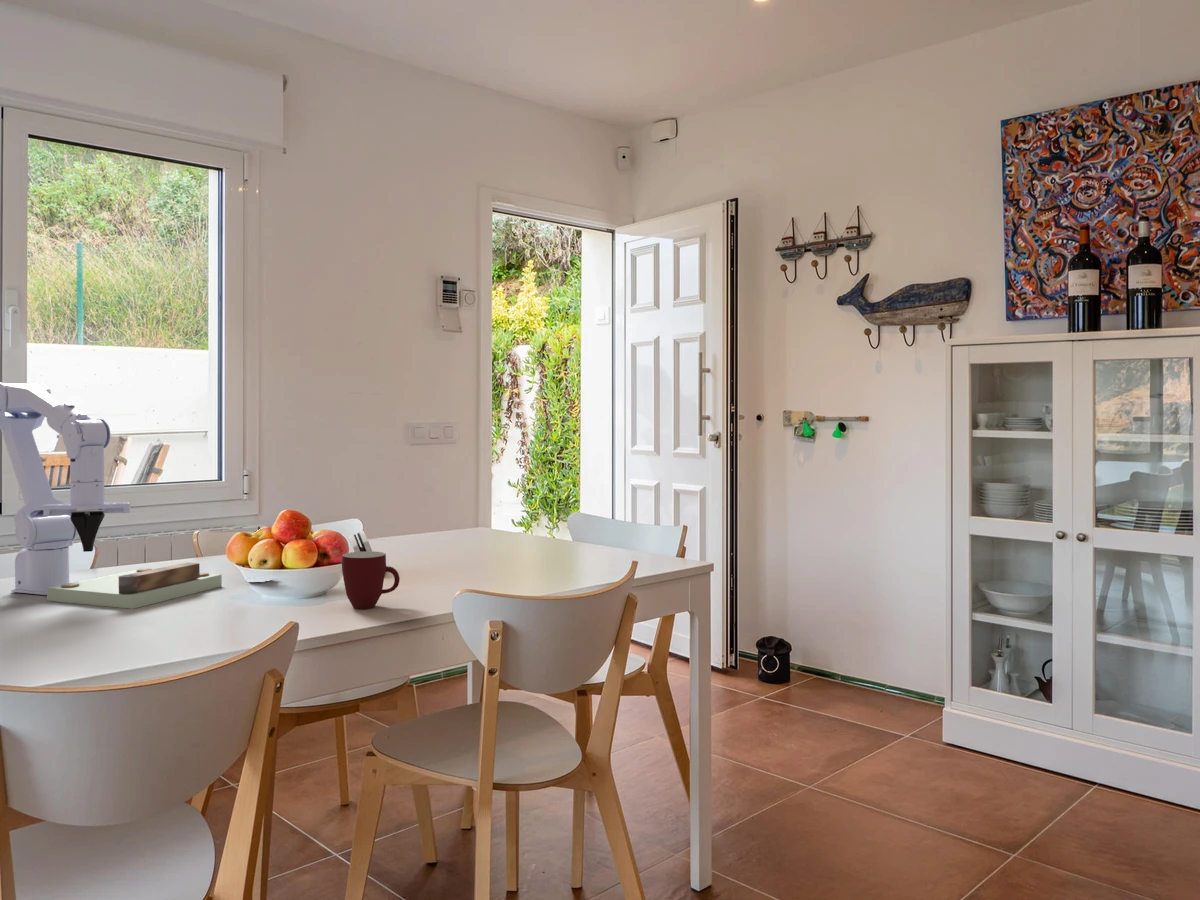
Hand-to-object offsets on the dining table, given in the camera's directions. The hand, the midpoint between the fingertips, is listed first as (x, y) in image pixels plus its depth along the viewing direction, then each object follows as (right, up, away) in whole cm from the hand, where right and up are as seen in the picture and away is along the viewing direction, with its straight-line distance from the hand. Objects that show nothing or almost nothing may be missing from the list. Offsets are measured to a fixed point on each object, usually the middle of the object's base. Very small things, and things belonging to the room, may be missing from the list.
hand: (88, 550), depth 171 cm
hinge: (+44, -9, +37) cm, 58 cm away
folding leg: (+13, -7, +1) cm, 15 cm away
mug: (+56, -10, -4) cm, 57 cm away
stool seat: (+7, -9, +6) cm, 13 cm away
